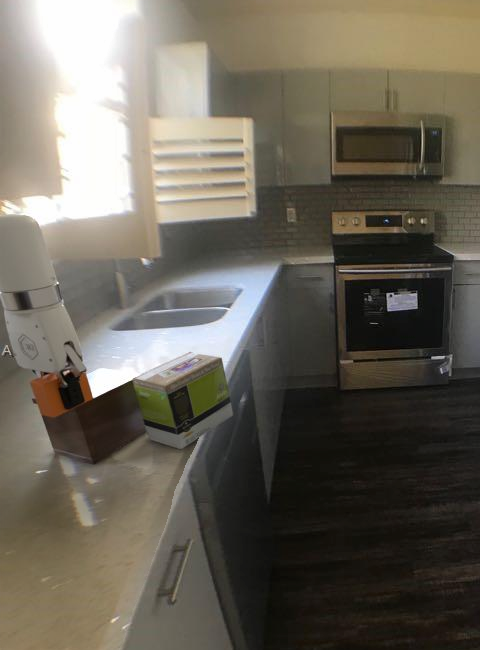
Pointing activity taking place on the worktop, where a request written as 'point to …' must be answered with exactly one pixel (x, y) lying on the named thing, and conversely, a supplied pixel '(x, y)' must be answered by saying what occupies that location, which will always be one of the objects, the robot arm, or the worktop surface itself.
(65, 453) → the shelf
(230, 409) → the tea box
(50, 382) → the block
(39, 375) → the robot arm
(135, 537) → the worktop surface
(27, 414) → the worktop surface
